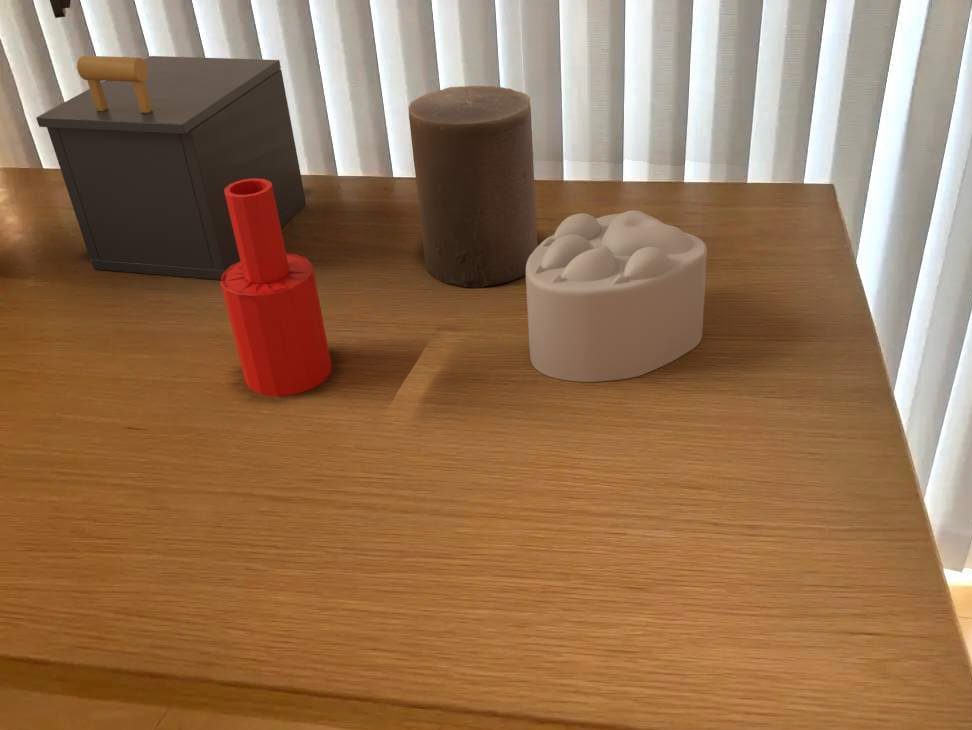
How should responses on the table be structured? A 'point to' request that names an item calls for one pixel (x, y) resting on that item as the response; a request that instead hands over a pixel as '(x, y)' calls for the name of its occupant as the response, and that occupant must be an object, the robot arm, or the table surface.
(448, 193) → the pillar candle
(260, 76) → the lid
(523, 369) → the table surface
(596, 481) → the table surface
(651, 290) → the lumpy-topped squat cylinder
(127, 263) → the bin
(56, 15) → the robot arm
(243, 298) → the bottle
